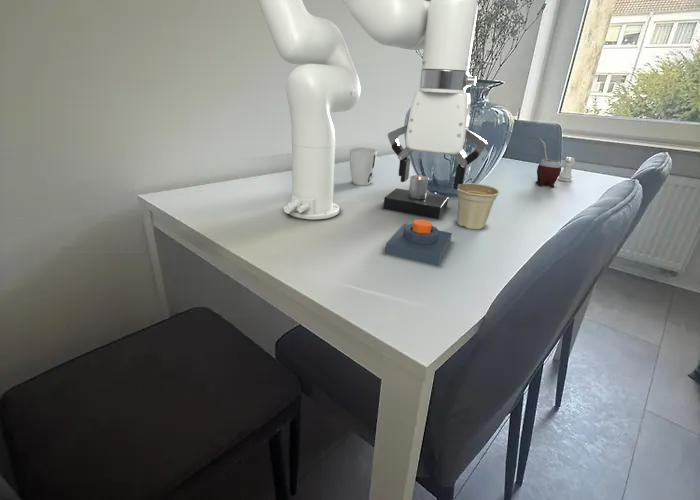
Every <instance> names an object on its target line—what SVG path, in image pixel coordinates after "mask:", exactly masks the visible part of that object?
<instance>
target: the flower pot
mask: <svg viewBox="0 0 700 500" xmlns="http://www.w3.org/2000/svg"><path fill="white" fill-rule="evenodd" d="M500 193H501V191H500V189H498V188H496V187H494V186H491V185H487V184H482V183H473V182H464V183H463V184H460V186H459V188H458V189H456V195H457V219H456V223H457V225H459V226H460V227H464V228H466V229H469V230H481V229H483V228H485V227H486V224H487V221H488V219H489V216H490V213H491V210H492V207H493V205H494V201H496V199H497V197H498V196H499V195H500Z"/></svg>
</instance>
